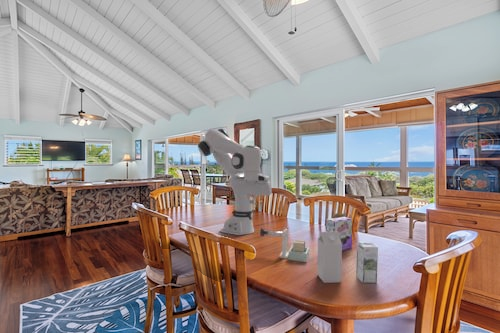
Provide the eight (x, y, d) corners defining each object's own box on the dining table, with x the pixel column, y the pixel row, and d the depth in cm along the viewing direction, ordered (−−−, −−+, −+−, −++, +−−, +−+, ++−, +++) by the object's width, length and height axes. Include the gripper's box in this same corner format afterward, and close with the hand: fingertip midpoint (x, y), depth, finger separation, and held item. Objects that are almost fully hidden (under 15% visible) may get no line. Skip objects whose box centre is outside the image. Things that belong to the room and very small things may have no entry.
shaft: (260, 237, 129) (260, 229, 129) (262, 234, 133) (262, 227, 133) (286, 240, 124) (286, 231, 124) (287, 237, 128) (287, 229, 128)
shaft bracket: (278, 258, 123) (279, 231, 123) (282, 252, 132) (283, 227, 131) (306, 262, 119) (307, 234, 119) (309, 255, 127) (309, 230, 127)
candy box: (333, 252, 131) (333, 221, 131) (325, 249, 136) (325, 218, 136) (352, 248, 137) (352, 218, 137) (343, 245, 143) (344, 216, 142)
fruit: (329, 238, 155) (329, 213, 155) (330, 233, 166) (331, 210, 165) (349, 240, 151) (349, 215, 151) (349, 235, 161) (349, 212, 161)
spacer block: (303, 260, 121) (303, 243, 121) (293, 258, 123) (293, 242, 123) (305, 256, 126) (305, 240, 126) (294, 255, 128) (295, 239, 127)
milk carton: (317, 275, 106) (317, 229, 105) (334, 274, 106) (334, 229, 106) (323, 283, 98) (324, 234, 98) (341, 282, 99) (342, 234, 99)
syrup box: (369, 276, 104) (370, 241, 104) (377, 283, 98) (378, 246, 98) (356, 276, 104) (356, 241, 104) (362, 283, 98) (363, 246, 98)
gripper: (231, 176, 133) (231, 202, 133) (269, 177, 126) (269, 205, 126) (236, 175, 138) (235, 201, 139) (272, 177, 132) (272, 203, 132)
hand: (252, 203), depth 132 cm, fingers closed
